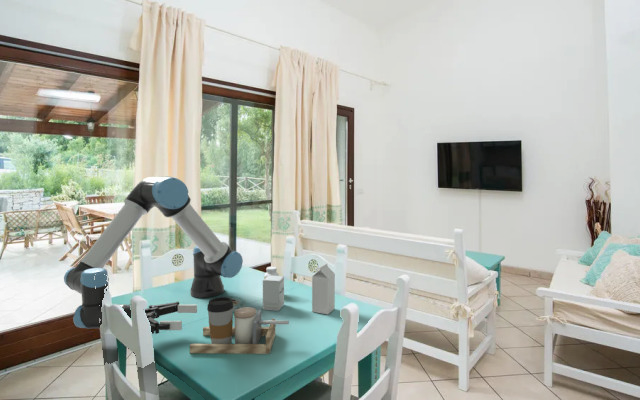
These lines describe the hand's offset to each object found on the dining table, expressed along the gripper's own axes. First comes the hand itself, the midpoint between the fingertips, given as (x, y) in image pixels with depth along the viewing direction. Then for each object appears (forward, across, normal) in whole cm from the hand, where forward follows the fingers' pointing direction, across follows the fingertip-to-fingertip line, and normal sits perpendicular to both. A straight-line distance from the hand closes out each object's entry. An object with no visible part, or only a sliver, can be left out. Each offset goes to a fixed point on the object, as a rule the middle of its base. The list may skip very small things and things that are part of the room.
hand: (189, 316), depth 116 cm
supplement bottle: (+21, -47, -9) cm, 52 cm away
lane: (+15, 0, -9) cm, 17 cm away
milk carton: (+45, -28, -9) cm, 54 cm away
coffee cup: (+11, +1, -9) cm, 14 cm away
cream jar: (+18, 0, -9) cm, 21 cm away
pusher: (+27, 0, -9) cm, 29 cm away
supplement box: (+24, -32, -9) cm, 41 cm away
